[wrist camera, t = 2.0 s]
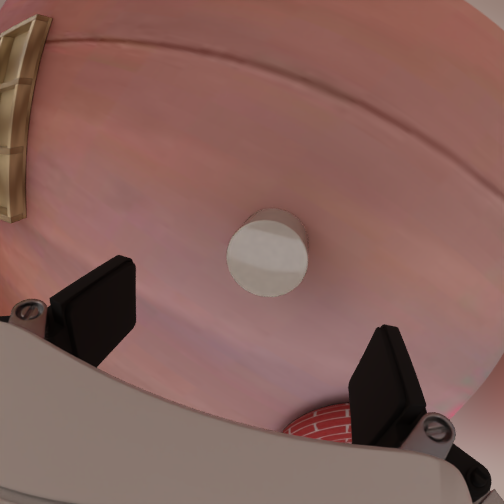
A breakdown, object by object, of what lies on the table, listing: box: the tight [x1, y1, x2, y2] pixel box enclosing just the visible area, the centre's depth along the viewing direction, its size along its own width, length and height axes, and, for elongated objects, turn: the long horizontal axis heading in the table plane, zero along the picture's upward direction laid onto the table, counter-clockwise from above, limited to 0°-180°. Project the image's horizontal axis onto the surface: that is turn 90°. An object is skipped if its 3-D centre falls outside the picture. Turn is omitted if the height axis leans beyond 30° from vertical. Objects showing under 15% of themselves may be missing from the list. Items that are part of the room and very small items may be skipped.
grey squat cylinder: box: [226, 208, 309, 297], centre depth 17 cm, size 4×4×3 cm
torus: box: [282, 403, 352, 443], centre depth 22 cm, size 16×14×4 cm
